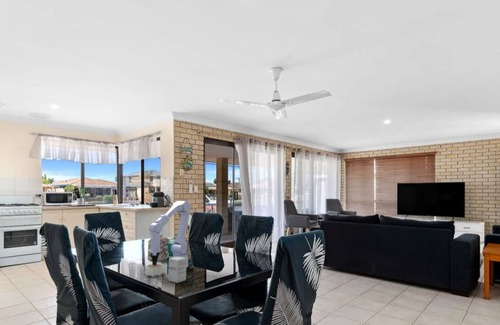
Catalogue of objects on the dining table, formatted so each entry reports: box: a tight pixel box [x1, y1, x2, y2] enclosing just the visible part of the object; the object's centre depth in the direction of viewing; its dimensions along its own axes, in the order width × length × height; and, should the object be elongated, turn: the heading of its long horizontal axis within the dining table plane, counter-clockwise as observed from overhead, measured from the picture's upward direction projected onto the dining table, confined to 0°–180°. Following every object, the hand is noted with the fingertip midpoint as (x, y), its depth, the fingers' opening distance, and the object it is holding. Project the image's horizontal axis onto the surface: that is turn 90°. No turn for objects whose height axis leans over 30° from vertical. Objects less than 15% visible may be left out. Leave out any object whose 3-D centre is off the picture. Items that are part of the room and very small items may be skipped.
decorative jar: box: [147, 234, 171, 262], centre depth 235 cm, size 12×12×18 cm
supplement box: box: [167, 256, 187, 284], centre depth 179 cm, size 7×7×13 cm
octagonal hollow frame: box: [143, 263, 165, 278], centre depth 192 cm, size 12×11×5 cm
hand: (154, 265), depth 192 cm, fingers closed, pressing on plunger
